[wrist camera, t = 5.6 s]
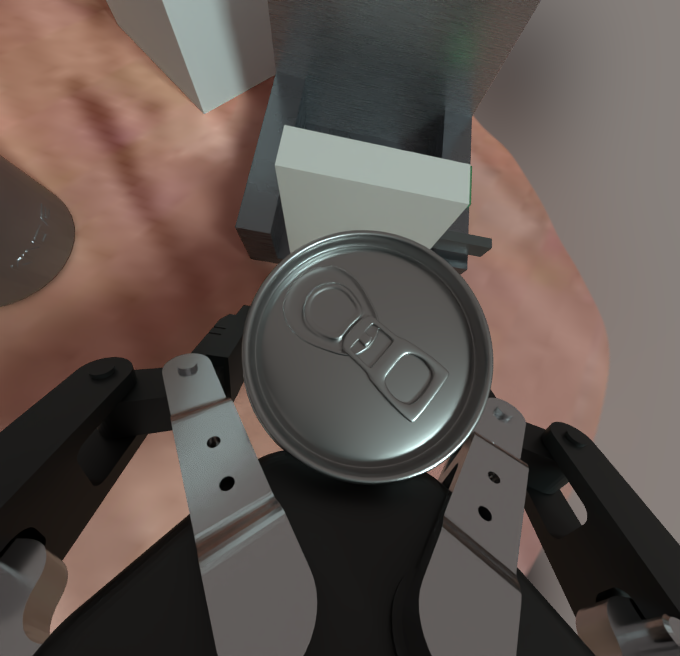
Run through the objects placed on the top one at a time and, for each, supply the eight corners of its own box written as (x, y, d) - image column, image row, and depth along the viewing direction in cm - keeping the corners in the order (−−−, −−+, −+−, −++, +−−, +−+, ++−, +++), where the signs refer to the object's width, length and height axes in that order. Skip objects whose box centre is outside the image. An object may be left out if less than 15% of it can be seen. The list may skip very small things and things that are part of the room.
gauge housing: (250, 258, 18) (183, 123, 9) (289, 99, 22) (270, -124, 12) (437, 291, 19) (559, 201, 10) (446, 134, 23) (543, -47, 13)
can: (329, 305, 18) (357, 166, 7) (398, 366, 18) (561, 335, 6) (263, 374, 17) (147, 354, 5) (336, 442, 16) (395, 592, 5)
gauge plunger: (291, 258, 17) (274, 164, 10) (296, 232, 18) (284, 124, 10) (452, 286, 18) (547, 220, 11) (453, 261, 19) (546, 180, 11)
